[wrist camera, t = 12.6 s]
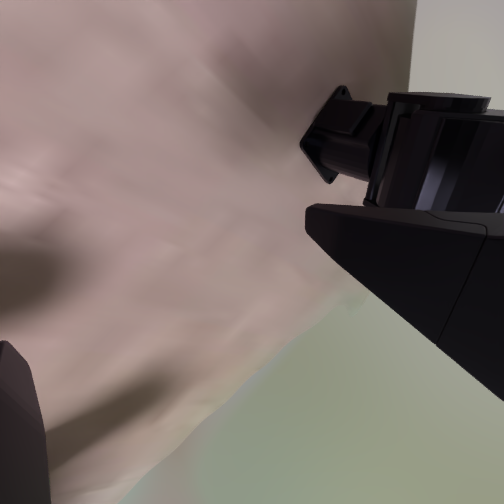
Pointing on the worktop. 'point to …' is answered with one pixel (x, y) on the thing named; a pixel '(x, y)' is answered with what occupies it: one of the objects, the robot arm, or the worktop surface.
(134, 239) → the worktop surface
